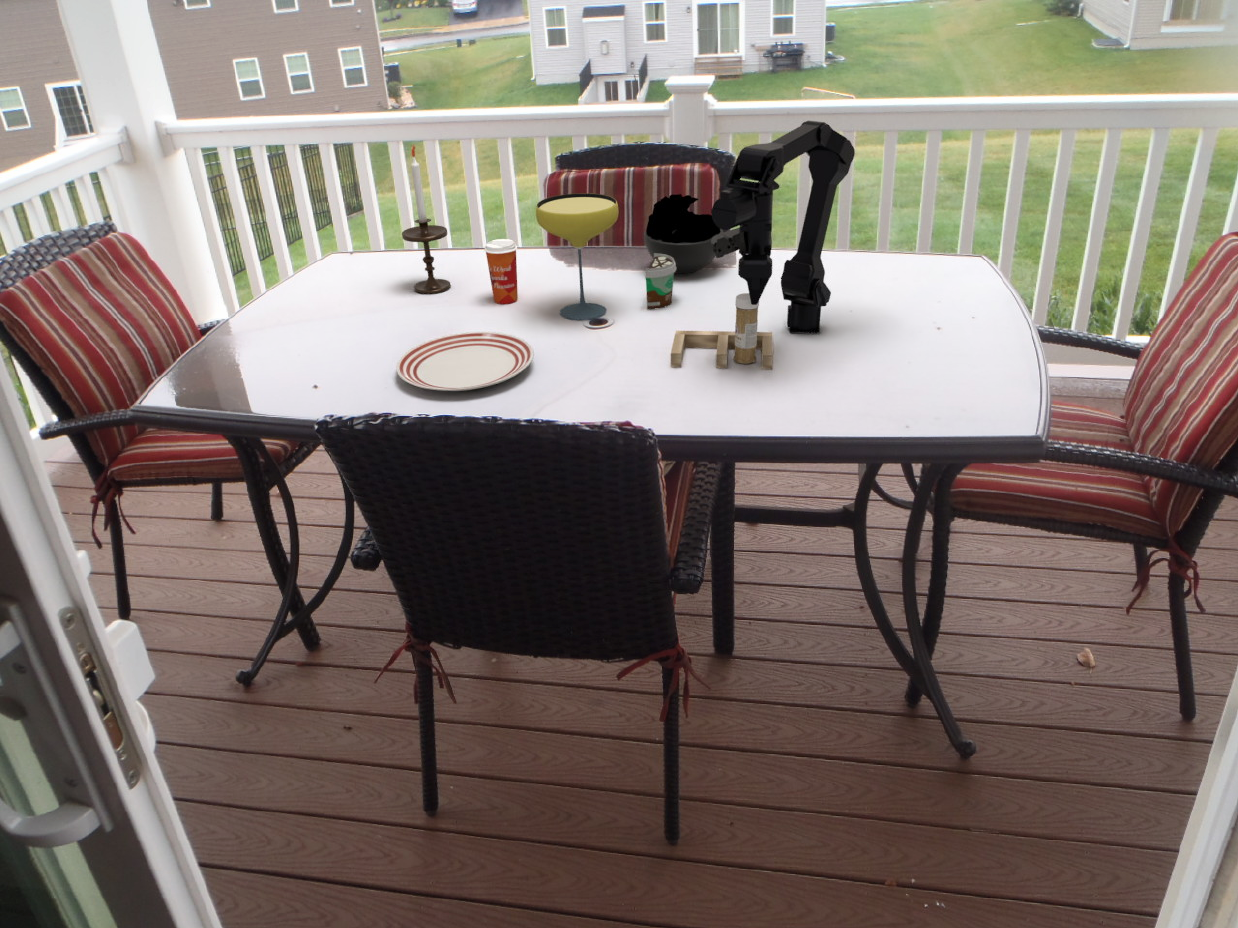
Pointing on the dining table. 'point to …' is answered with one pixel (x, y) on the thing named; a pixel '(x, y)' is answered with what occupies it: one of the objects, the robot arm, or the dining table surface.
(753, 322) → the sprinkles bottle
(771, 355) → the comb rack
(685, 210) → the coal bowl
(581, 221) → the cocktail glass
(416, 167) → the candlestick
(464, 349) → the dinner plate
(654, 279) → the food container
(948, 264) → the dining table surface
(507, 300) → the paper cup
